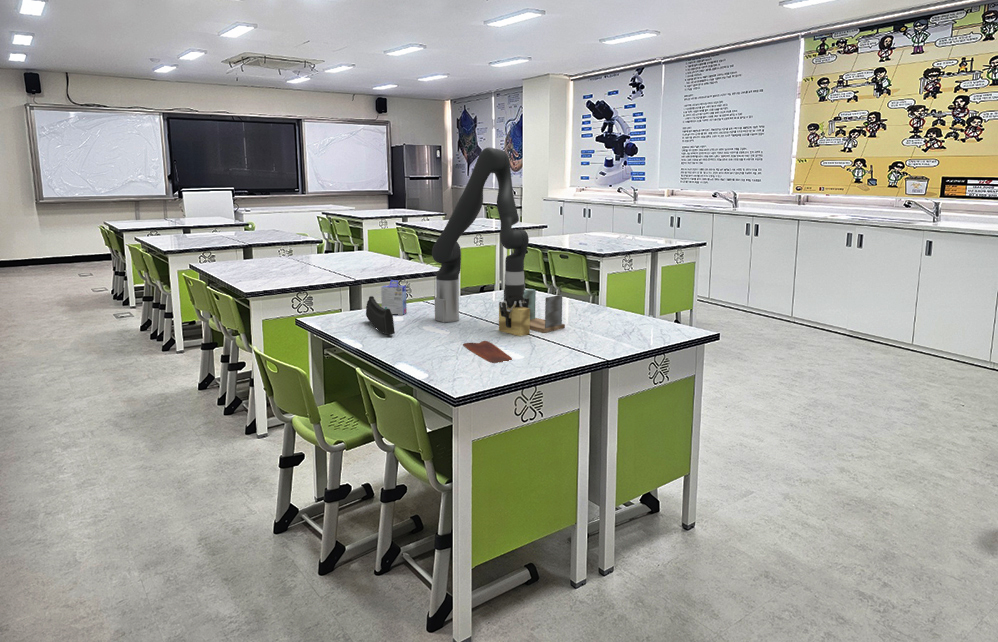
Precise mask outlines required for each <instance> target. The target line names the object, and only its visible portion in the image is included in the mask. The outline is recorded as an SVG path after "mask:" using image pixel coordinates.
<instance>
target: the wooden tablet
mask: <svg viewBox="0 0 998 642" xmlns="http://www.w3.org/2000/svg"><path fill="white" fill-rule="evenodd" d="M462 345H463V346H464V348H465V349H468V351H470V352H471V353H473V354H475V355H477V356H478V357H480V358H481V359H483V360H485V361H487V362H489V363H491V362H492V364H495V363H496V364H497V363H498V362H499V363H504V362H503V361H507V362H510V361H509V360H512V359H513V357H511V355H509V354H507V353H506V352H505V351H503V349H501V348H499V347H498V346H497V345H495V344H493V343H492V342H490V341H488V340H481V342H465V343H463V344H462ZM512 361H513V360H512Z"/></svg>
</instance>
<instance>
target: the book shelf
mask: <svg viewBox="0 0 998 642" xmlns="http://www.w3.org/2000/svg"><path fill="white" fill-rule="evenodd" d="M536 293H537V291H536V289H533V288H529V289H528V288H526V287H524V295H523V298H528V299H529V304H528V308H530V330H531V331H535V332H537V333H538V332H539V333H548V332H552V331H553V332H554V331H558V330H562V329H563V330H564V329H565V328H566V324H564V323H563V322H562V321H563V294H559V295H553V296H547V297H545V302H544V303H545V306H544V308H545V309H544V319H542V318H538V317H536V300H537V299H536ZM505 298H506V295H505V288H504V289H503V301H505Z"/></svg>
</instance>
